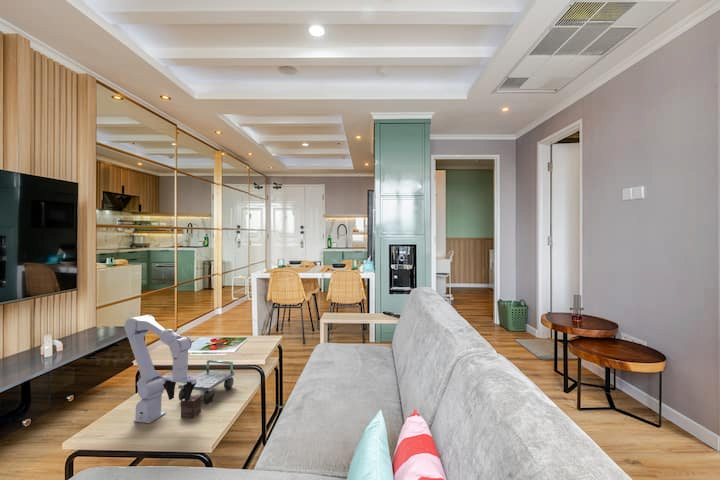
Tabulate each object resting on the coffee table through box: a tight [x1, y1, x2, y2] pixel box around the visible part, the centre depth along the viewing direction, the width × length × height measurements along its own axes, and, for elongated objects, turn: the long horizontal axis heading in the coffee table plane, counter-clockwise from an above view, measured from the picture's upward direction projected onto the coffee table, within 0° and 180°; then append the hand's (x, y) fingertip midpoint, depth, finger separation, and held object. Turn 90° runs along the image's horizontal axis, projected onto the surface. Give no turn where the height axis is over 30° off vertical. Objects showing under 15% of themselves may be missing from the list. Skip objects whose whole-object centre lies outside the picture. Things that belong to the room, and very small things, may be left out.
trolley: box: [177, 359, 235, 404], centre depth 173 cm, size 23×16×14 cm
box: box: [180, 394, 202, 419], centre depth 151 cm, size 6×6×7 cm
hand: (179, 399), depth 144 cm, fingers open, 7 cm apart
